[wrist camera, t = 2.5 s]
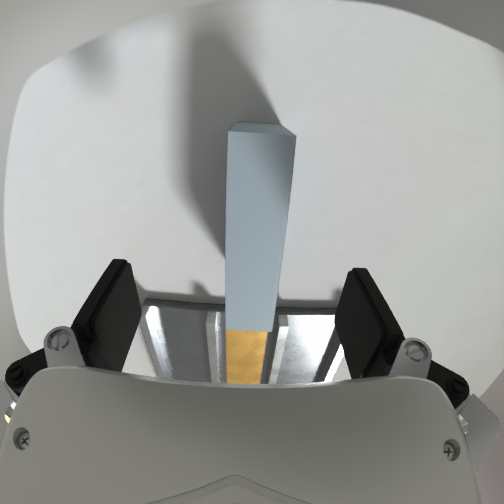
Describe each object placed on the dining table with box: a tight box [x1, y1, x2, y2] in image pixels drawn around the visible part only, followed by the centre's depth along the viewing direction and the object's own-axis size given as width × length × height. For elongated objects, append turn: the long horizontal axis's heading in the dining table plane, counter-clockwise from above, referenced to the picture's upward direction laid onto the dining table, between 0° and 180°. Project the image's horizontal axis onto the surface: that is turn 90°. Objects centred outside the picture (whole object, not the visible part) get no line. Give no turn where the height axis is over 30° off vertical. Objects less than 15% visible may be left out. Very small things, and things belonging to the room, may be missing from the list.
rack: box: [140, 299, 344, 384], centre depth 29 cm, size 20×18×2 cm
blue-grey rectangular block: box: [225, 122, 296, 332], centre depth 17 cm, size 3×12×7 cm, turn 177°
